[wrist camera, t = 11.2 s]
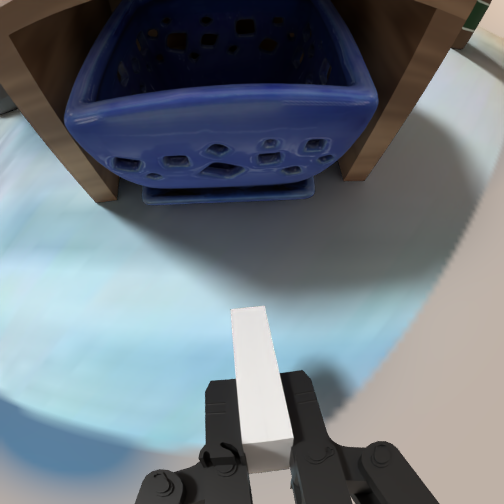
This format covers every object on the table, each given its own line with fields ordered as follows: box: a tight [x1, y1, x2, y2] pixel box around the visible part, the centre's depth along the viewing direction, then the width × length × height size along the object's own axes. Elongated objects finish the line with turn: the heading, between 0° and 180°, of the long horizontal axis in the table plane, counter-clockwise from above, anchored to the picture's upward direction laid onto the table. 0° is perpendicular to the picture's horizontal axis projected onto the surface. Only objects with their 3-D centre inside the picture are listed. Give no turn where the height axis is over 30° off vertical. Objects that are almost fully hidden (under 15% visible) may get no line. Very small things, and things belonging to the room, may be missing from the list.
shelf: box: [0, 0, 477, 203], centre depth 16 cm, size 14×21×17 cm
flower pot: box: [64, 0, 379, 205], centre depth 17 cm, size 13×13×12 cm
